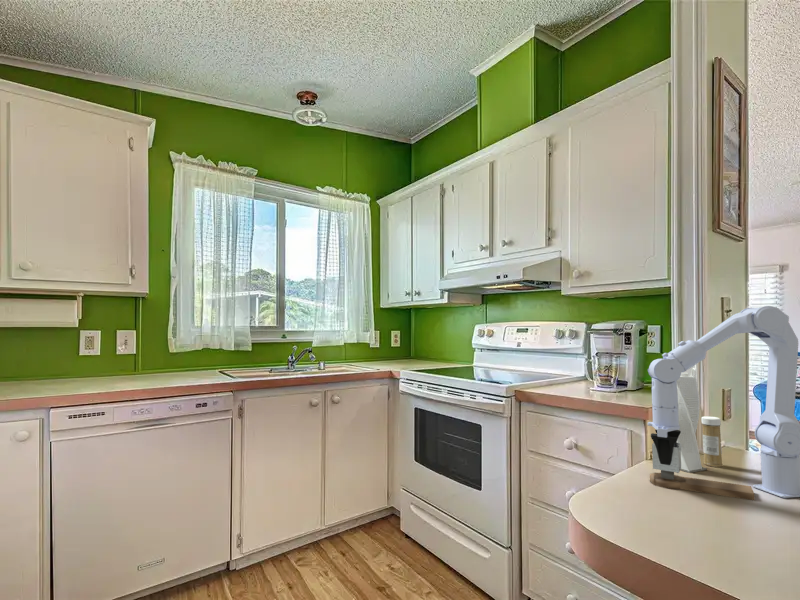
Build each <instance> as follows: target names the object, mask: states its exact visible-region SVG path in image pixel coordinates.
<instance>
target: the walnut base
mask: <svg viewBox="0 0 800 600" xmlns="http://www.w3.org/2000/svg"><path fill="white" fill-rule="evenodd" d="M649 482H650V484H652V485H653V486H656V487H659V488H664V489H671V490H683V491H690V492H691V491H692V492H697V493H701V494H702V493H703V494H710V495H717V496H722V497H723V496H724V497H730V498H736V499H743V500H750V501H756V498H755V492H754V490H753V488H752V486H751V485H744V484H738V483H737V484H736V483H731V482H724V481H723V482H722V481H716V480H710V479H701V478H696V477H689V476H683V475H678V474H675V472H671V471H664V470H660V472H652V473H650V474H649Z"/></svg>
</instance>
